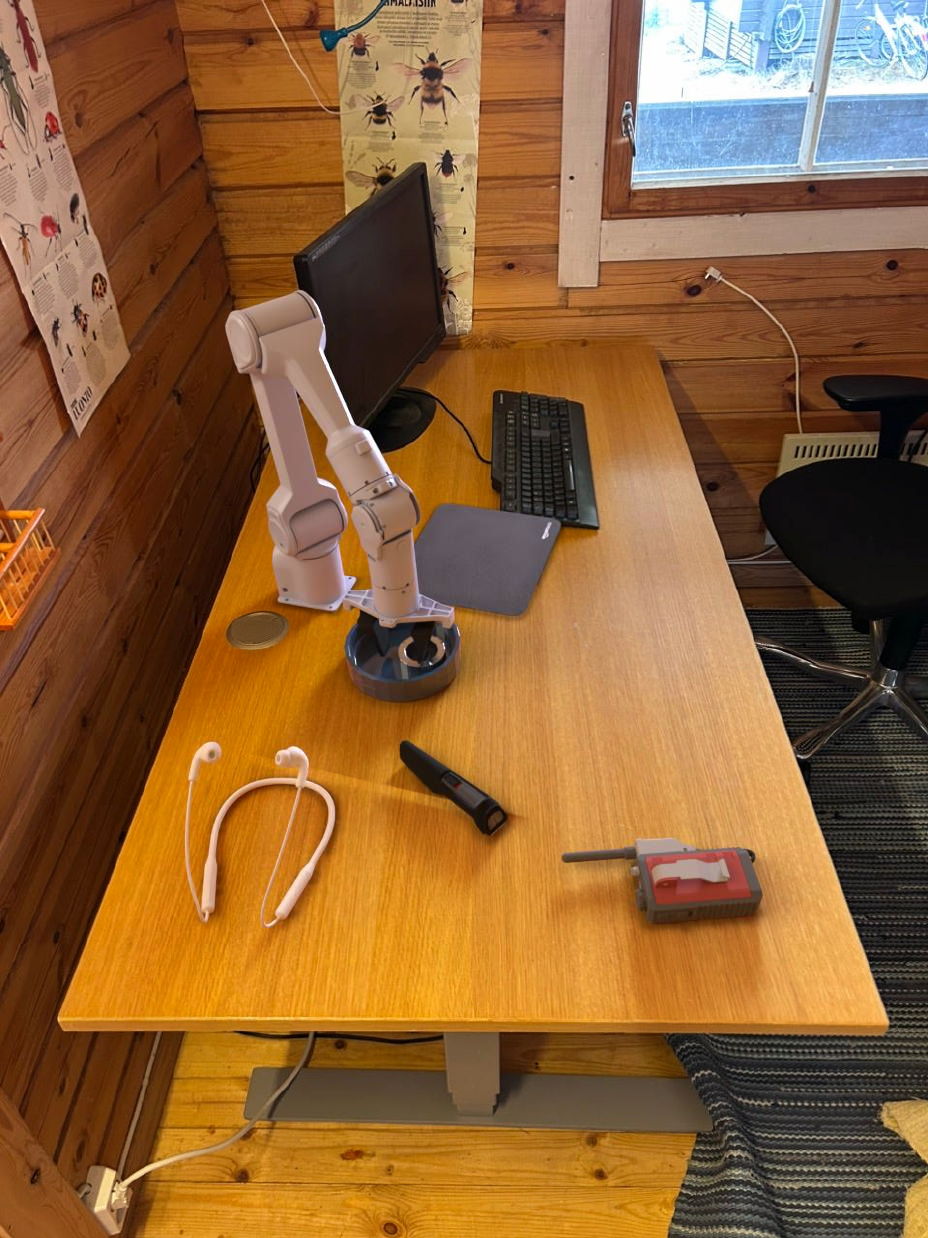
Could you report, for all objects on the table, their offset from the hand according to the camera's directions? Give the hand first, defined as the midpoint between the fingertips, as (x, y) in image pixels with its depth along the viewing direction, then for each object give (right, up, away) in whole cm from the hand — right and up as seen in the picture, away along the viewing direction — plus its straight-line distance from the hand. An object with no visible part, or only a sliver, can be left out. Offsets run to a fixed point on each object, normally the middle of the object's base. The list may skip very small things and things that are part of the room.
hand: (404, 655), depth 115 cm
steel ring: (+3, -1, 0) cm, 3 cm away
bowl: (0, -1, +1) cm, 1 cm away
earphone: (-14, -21, -20) cm, 32 cm away
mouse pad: (+10, +14, +18) cm, 25 cm away
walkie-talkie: (+29, -23, -26) cm, 45 cm away
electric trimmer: (+6, -15, -16) cm, 23 cm away
